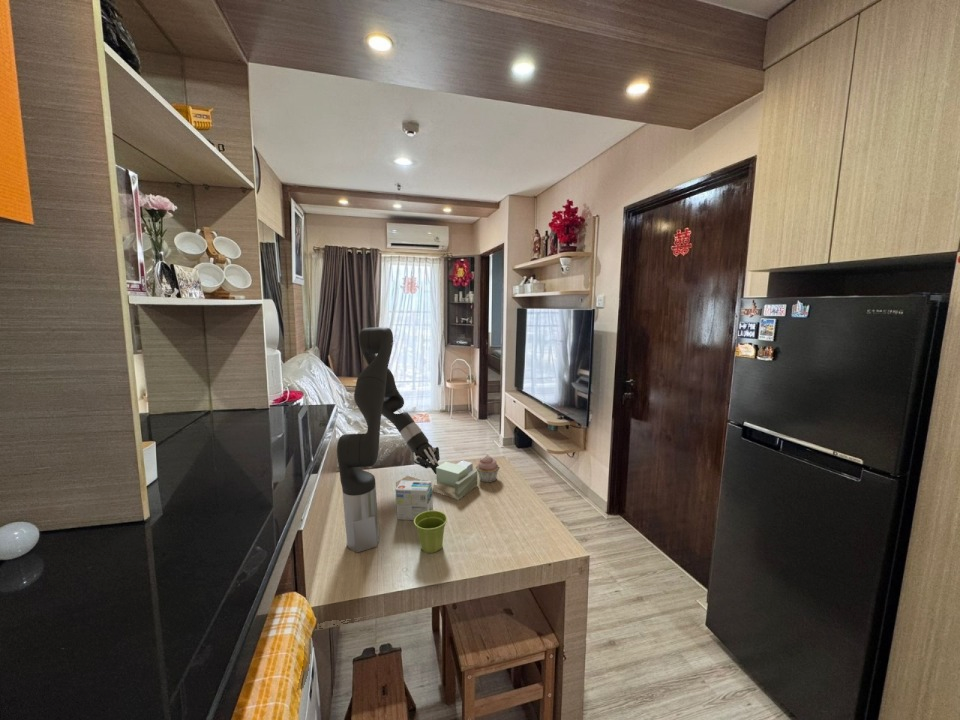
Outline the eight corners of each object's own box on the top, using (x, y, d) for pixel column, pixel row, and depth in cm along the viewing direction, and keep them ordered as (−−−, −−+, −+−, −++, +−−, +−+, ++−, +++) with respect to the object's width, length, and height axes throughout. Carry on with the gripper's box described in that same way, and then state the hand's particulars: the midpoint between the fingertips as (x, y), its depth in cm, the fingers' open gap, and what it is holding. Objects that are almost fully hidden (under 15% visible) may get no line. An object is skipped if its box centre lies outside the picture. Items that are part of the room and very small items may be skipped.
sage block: (468, 487, 149) (467, 467, 147) (458, 494, 144) (458, 473, 142) (446, 480, 154) (445, 461, 153) (436, 487, 149) (436, 467, 148)
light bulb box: (433, 509, 134) (432, 480, 132) (429, 521, 128) (427, 490, 126) (402, 508, 135) (400, 479, 133) (396, 520, 129) (394, 489, 127)
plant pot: (418, 536, 120) (417, 510, 118) (449, 536, 120) (448, 510, 118) (412, 557, 111) (410, 529, 109) (446, 557, 110) (445, 529, 109)
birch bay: (477, 485, 150) (477, 470, 149) (458, 500, 140) (458, 484, 139) (453, 478, 156) (453, 464, 154) (434, 491, 146) (433, 476, 145)
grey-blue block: (472, 474, 159) (472, 463, 158) (465, 479, 154) (465, 467, 154) (462, 471, 161) (462, 460, 160) (455, 476, 157) (454, 465, 156)
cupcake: (493, 471, 161) (492, 448, 159) (504, 481, 153) (503, 456, 151) (471, 476, 157) (471, 452, 155) (482, 486, 149) (481, 461, 147)
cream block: (420, 495, 144) (420, 479, 143) (409, 502, 139) (408, 486, 138) (408, 490, 147) (407, 475, 146) (396, 497, 142) (395, 482, 141)
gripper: (407, 437, 148) (434, 475, 144) (430, 426, 159) (455, 462, 155) (397, 447, 152) (423, 485, 147) (420, 436, 163) (445, 471, 158)
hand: (440, 473), depth 151 cm, fingers closed
